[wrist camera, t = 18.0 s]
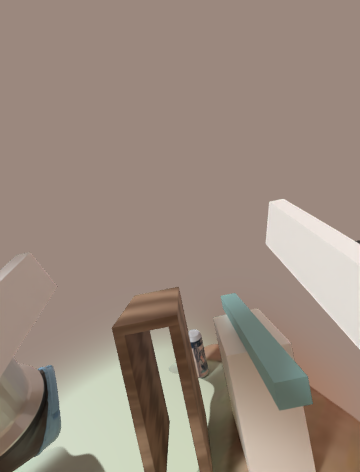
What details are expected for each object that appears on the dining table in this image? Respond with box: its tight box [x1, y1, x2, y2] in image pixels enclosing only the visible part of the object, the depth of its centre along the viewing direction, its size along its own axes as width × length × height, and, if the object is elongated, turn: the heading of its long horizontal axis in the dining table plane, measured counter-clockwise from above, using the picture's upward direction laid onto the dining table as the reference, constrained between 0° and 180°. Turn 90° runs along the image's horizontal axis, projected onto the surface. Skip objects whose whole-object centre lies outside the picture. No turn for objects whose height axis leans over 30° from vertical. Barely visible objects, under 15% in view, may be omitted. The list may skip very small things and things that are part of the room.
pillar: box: [213, 308, 316, 472], centre depth 34 cm, size 12×10×22 cm
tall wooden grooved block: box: [112, 287, 213, 472], centre depth 34 cm, size 13×10×30 cm
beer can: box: [188, 329, 209, 378], centre depth 52 cm, size 5×5×12 cm
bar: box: [221, 293, 313, 411], centre depth 30 cm, size 24×4×3 cm, turn 0°
